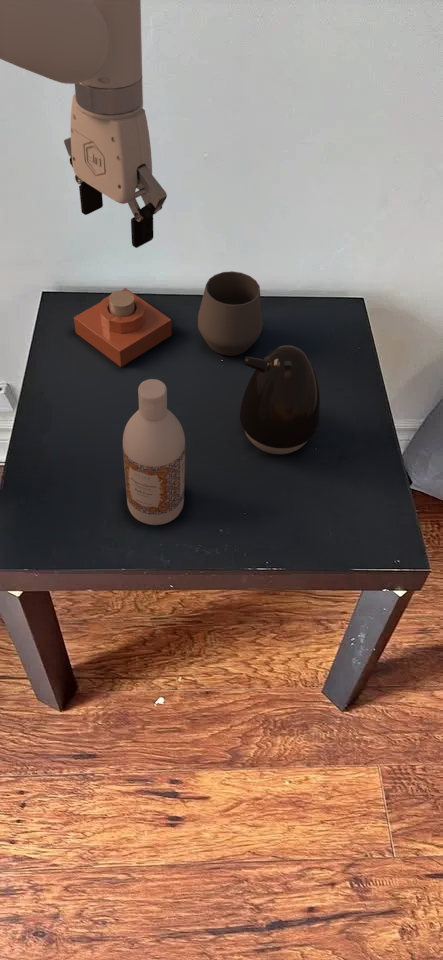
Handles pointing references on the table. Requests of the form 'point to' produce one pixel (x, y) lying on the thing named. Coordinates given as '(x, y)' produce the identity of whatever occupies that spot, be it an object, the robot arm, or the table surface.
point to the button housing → (123, 330)
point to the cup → (230, 313)
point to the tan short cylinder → (121, 304)
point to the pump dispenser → (281, 401)
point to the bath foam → (154, 458)
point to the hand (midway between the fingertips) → (117, 226)
